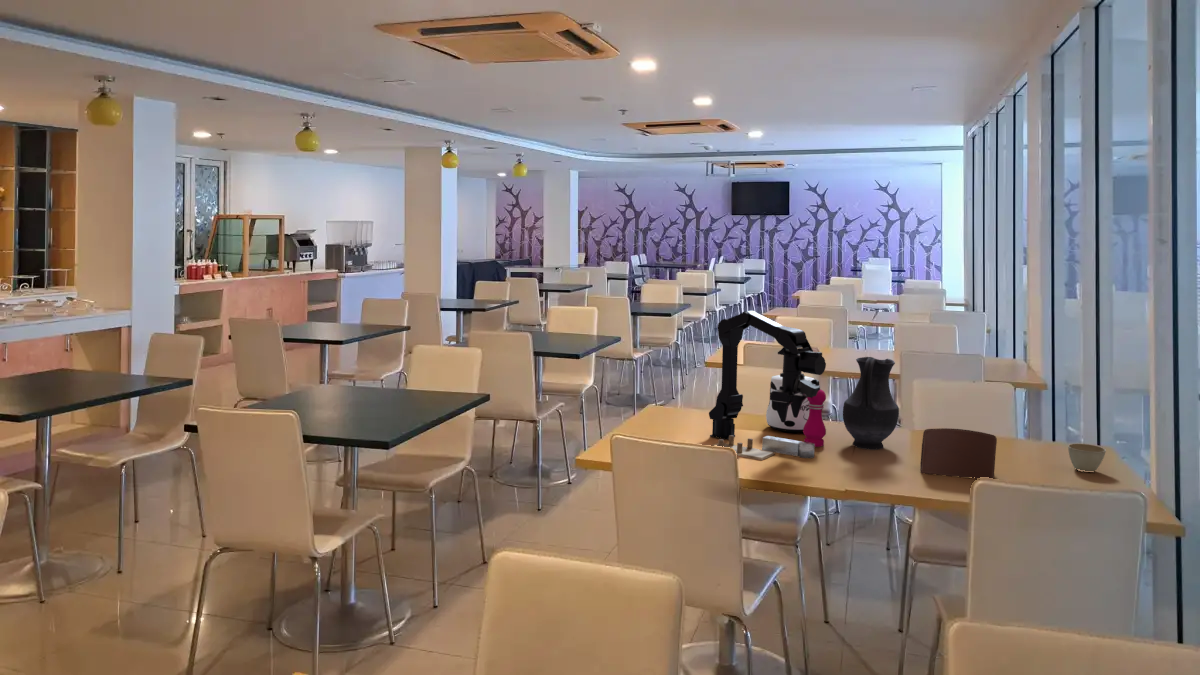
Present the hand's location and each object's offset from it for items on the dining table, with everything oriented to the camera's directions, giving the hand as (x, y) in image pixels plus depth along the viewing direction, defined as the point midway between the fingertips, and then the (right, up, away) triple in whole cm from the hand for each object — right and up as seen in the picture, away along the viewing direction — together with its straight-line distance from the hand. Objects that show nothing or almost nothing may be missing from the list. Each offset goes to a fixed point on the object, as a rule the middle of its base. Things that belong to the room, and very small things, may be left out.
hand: (789, 419), depth 290 cm
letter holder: (+45, -14, -17) cm, 50 cm away
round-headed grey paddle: (0, -11, +1) cm, 11 cm away
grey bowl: (+86, -14, -11) cm, 88 cm away
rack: (-15, -10, +1) cm, 18 cm away
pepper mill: (+11, -9, +13) cm, 19 cm away
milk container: (+7, -7, +35) cm, 36 cm away
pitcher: (+27, -10, +11) cm, 31 cm away
